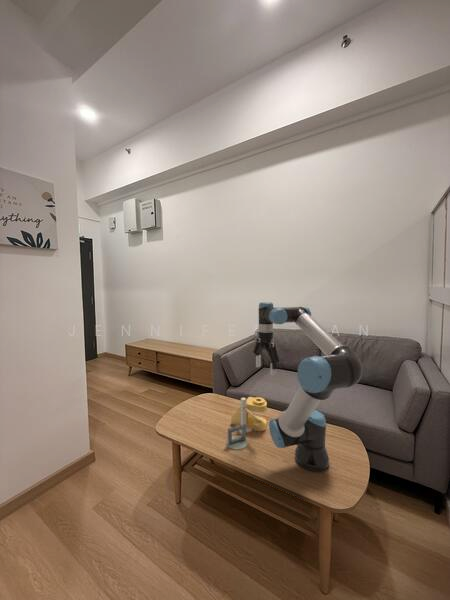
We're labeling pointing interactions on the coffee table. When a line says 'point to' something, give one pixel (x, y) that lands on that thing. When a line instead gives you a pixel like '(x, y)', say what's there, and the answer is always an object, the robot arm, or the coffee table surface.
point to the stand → (243, 415)
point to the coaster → (237, 444)
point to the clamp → (253, 406)
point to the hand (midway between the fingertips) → (265, 370)
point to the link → (240, 439)
